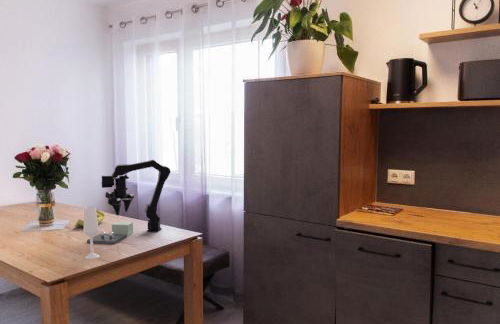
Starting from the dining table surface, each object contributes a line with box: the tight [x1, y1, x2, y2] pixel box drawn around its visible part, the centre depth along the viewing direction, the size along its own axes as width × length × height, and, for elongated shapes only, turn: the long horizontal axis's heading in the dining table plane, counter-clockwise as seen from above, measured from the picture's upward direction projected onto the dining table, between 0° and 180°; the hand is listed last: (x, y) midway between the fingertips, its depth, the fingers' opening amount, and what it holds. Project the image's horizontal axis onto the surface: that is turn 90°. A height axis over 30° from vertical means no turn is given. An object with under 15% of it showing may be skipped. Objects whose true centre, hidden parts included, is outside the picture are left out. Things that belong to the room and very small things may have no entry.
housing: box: [111, 221, 134, 236], centre depth 224 cm, size 10×6×6 cm, turn 79°
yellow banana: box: [74, 209, 106, 229], centre depth 245 cm, size 20×7×10 cm
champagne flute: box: [82, 205, 100, 260], centre depth 184 cm, size 7×7×24 cm
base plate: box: [86, 230, 128, 245], centre depth 212 cm, size 16×13×4 cm
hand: (122, 213), depth 223 cm, fingers open, 9 cm apart
